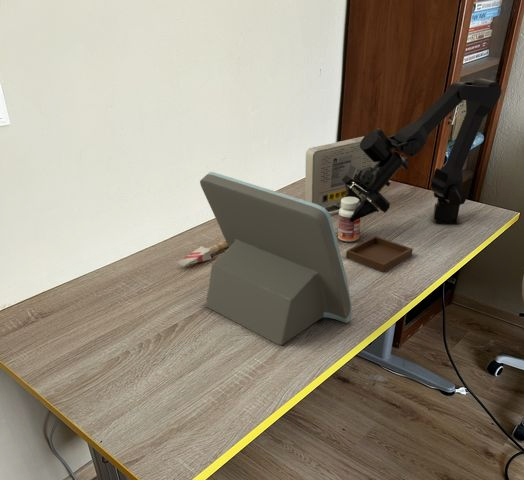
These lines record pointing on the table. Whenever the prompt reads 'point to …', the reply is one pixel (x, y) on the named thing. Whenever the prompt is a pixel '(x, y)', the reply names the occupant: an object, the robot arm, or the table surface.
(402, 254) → the walnut tray
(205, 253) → the chopstick bundle
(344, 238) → the pill bottle
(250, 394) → the table surface
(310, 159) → the network device
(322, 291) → the touchscreen device
